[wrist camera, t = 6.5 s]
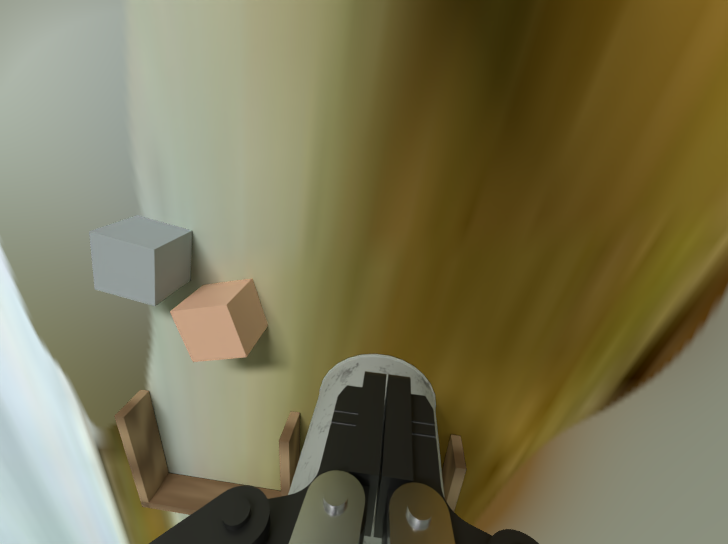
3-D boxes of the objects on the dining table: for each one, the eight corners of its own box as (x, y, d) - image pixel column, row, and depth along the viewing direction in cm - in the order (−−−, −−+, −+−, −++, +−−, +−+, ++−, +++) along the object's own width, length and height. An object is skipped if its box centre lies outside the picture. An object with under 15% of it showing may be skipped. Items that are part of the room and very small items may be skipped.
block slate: (137, 214, 24) (89, 231, 20) (192, 230, 24) (154, 249, 20) (139, 265, 25) (94, 289, 22) (191, 279, 25) (154, 306, 22)
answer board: (140, 389, 30) (110, 419, 27) (460, 436, 28) (467, 474, 25) (163, 480, 36) (140, 514, 32) (436, 525, 34) (439, 566, 30)
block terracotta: (203, 284, 25) (169, 311, 22) (252, 277, 25) (226, 304, 21) (221, 329, 27) (192, 362, 23) (268, 324, 26) (246, 357, 23)
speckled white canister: (438, 355, 26) (464, 537, 14) (433, 446, 29) (450, 645, 18) (314, 351, 27) (248, 517, 15) (324, 439, 30) (278, 622, 19)
